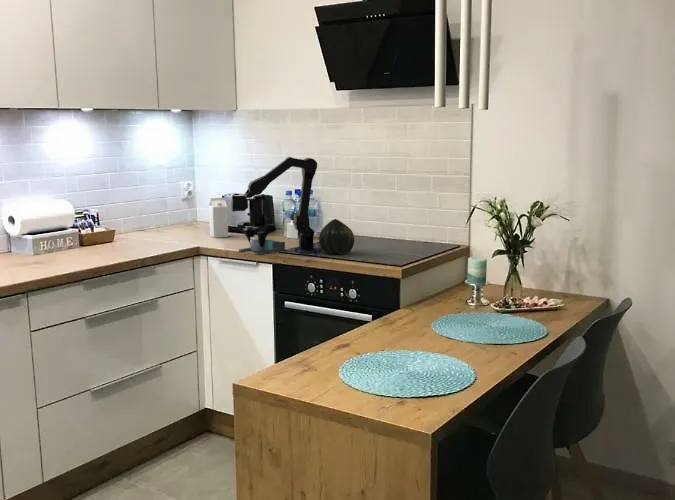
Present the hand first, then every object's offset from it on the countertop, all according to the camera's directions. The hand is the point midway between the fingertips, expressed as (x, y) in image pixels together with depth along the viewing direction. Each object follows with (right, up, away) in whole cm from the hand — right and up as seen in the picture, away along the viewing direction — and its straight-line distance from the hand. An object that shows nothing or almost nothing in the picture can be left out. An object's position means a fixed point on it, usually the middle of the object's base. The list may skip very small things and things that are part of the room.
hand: (257, 246), depth 318 cm
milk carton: (-23, +5, +44) cm, 50 cm away
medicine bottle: (+15, +4, +39) cm, 42 cm away
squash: (+34, -3, -4) cm, 34 cm away
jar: (0, -1, 0) cm, 1 cm away
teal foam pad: (+3, -1, +3) cm, 4 cm away
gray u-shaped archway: (+3, -2, +3) cm, 4 cm away
